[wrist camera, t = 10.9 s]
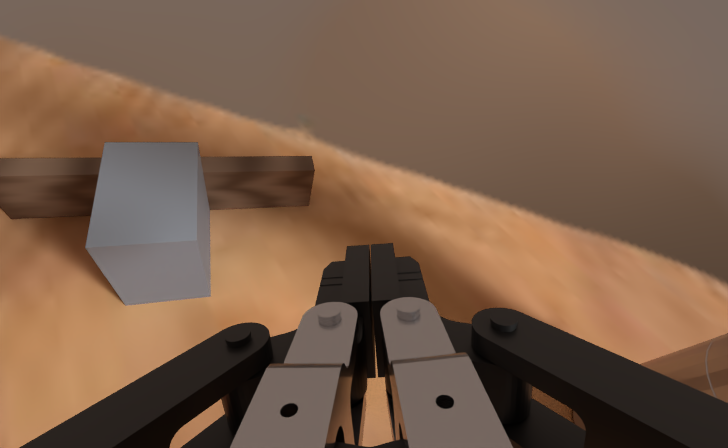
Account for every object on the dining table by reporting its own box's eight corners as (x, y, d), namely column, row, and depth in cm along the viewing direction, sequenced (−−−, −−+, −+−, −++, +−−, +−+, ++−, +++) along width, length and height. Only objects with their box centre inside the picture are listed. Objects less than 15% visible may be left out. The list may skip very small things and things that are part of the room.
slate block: (209, 210, 42) (197, 142, 34) (210, 296, 37) (196, 240, 29) (136, 213, 40) (104, 142, 32) (125, 305, 34) (85, 247, 26)
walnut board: (306, 191, 46) (311, 156, 41) (308, 205, 45) (314, 170, 40) (16, 201, 38) (-20, 158, 33) (11, 218, 37) (-27, 176, 32)
